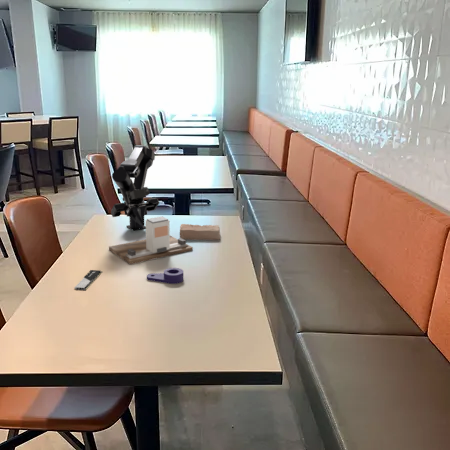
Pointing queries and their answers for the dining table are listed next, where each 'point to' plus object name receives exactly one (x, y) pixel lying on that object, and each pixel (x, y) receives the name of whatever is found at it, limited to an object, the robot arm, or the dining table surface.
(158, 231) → the relay module
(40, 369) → the dining table surface
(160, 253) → the board
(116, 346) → the dining table surface
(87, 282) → the computer memory module
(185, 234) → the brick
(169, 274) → the lever
